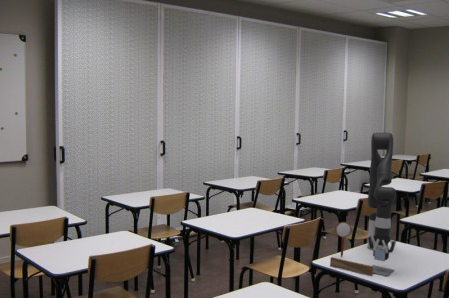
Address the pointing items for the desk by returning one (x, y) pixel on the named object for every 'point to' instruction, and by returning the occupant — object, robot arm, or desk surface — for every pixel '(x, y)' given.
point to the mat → (382, 270)
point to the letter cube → (380, 254)
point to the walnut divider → (351, 266)
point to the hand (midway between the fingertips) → (380, 258)
